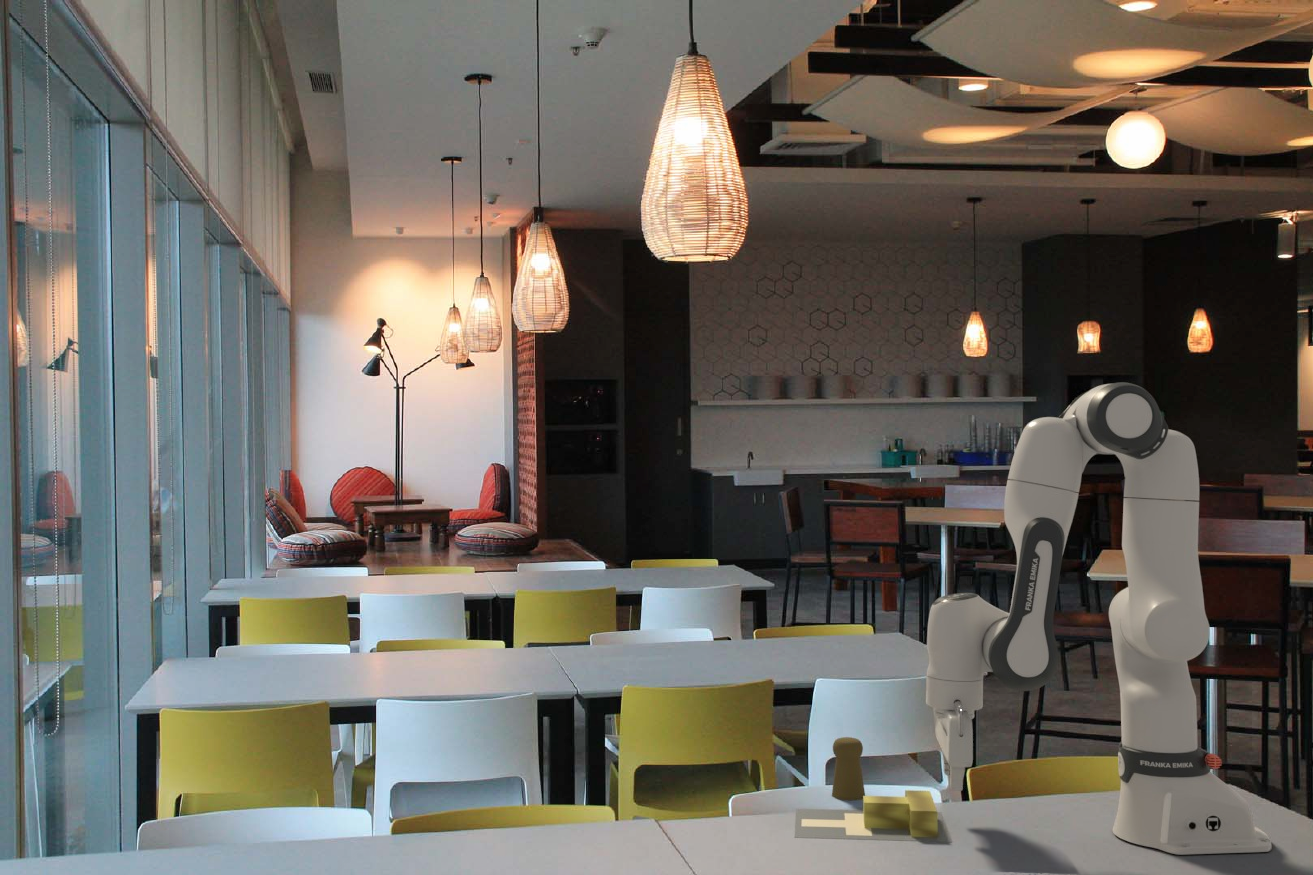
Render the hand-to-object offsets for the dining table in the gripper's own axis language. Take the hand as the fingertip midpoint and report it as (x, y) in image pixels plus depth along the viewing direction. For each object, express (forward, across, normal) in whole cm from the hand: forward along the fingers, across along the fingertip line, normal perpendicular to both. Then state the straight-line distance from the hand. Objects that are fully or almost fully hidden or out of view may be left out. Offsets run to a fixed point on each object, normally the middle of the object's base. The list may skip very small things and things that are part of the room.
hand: (952, 781), depth 192 cm
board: (+8, 0, +13) cm, 15 cm away
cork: (+9, +17, +16) cm, 25 cm away
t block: (+7, 0, +8) cm, 11 cm away
